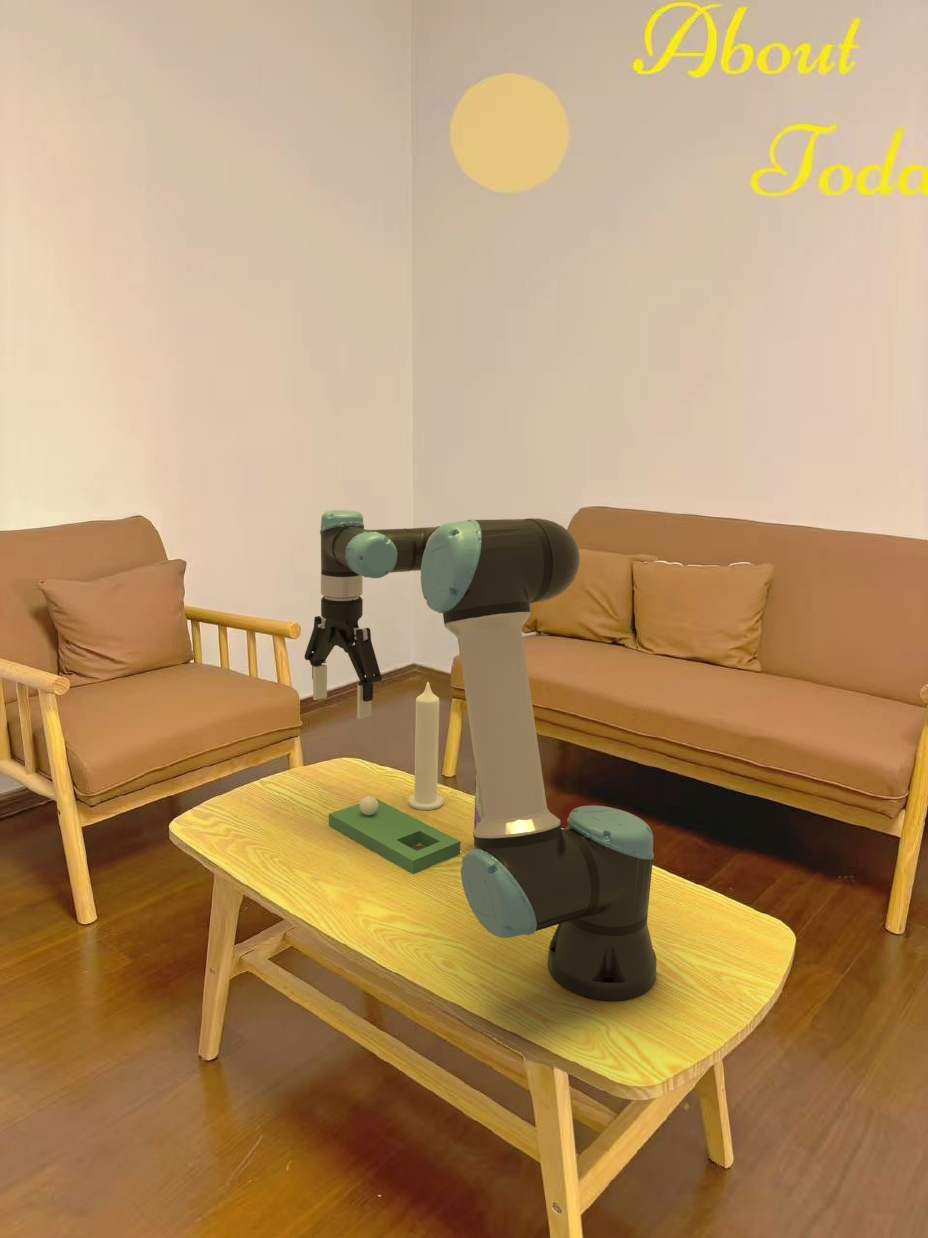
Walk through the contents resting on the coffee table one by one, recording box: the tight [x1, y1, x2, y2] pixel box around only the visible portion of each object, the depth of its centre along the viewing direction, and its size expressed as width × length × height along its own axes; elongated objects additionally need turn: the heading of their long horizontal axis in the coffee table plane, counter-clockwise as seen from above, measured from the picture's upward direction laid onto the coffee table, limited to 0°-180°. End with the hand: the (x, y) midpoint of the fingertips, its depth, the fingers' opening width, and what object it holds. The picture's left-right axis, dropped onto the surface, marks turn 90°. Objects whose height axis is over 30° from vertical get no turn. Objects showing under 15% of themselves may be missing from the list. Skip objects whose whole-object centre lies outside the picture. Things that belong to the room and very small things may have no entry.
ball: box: [359, 795, 378, 815], centre depth 173 cm, size 4×4×4 cm
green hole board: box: [328, 797, 461, 875], centre depth 168 cm, size 24×11×2 cm, turn 44°
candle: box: [407, 681, 444, 811], centre depth 182 cm, size 7×7×25 cm
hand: (341, 707), depth 174 cm, fingers open, 13 cm apart
